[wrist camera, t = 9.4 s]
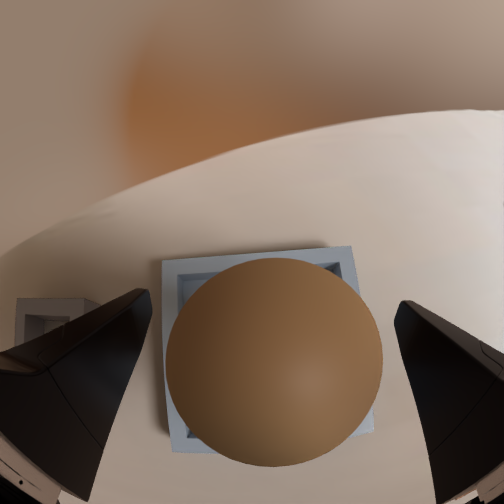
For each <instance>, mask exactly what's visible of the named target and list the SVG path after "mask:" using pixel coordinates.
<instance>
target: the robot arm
mask: <svg viewBox="0 0 504 504" xmlns="http://www.w3.org/2000/svg"><path fill="white" fill-rule="evenodd" d="M151 316H152V304H151V299H150V293H149V290H147V289H142V288H136V289H134V290H132V291H130V292H128V293H126V294H124V295H122V296H120V297H118V298H116V299H114V300H112V301H110V302H108V303H106V304H104V305H102V306H100V307H98V308H96V309H94V310H92V311H90V312H88V313H86V314H84V315H82V316H80V317H78V318H76V319H74V320H72V321H70V322H68V323H66V324H64V325H62V326H60V327H58V328H56V329H54V330H52V331H50V332H48V333H46V334H43V335H41V336H39V337H37V338H34V339H32V340H30V341H27V342H25V343H23V344H20V345H18V346H15V347H13V348H11V349H8V350H6V351H3V352H0V504H60V503H59V500H58V497H59V494H60V492H61V490H63V491H65V492H67V493H69V494H71V495H73V496H75V497H77V498H79V499H81V500H83V501H86V502H88V500H89V497H90V494H91V490H92V487H93V483H94V480H95V477H96V473H97V470H98V467H99V464H100V461H101V457H102V454H103V451H104V448H105V445H106V442H107V439H108V436H109V433H110V430H111V427H112V425H113V422H114V419H115V416H116V414H117V411H118V408H119V405H120V403H121V400H122V397H123V395H124V392H125V390H126V387H127V385H128V382H129V379H130V377H131V374H132V372H133V369H134V367H135V365H136V362H137V360H138V357H139V355H140V352H141V350H142V347H143V344H144V340H145V337H146V333H147V330H148V326H149V323H150V320H151ZM394 327H395V331H396V335H397V339H398V343H399V348H400V352H401V356H402V360H403V363H404V366H405V369H406V372H407V376H408V379H409V382H410V385H411V389H412V392H413V395H414V399H415V402H416V406H417V410H418V413H419V417H420V421H421V425H422V429H423V433H424V437H425V442H426V446H427V451H428V455H429V461H430V467H431V472H432V478H433V484H434V491H435V498H436V504H445V503H447V502H449V501H451V500H454V499H456V498H458V497H460V496H462V495H464V494H466V493H468V492H470V491H472V490H473V489H475V488H476V490H477V493H478V496H477V497H475V498H474V499H472V500H470V501H469V502H467V503H465V504H504V354H503V353H501V352H499V351H498V350H496V349H494V348H492V347H491V346H489V345H487V344H486V343H484V342H482V341H481V340H479V339H477V338H476V337H474V336H472V335H471V334H469V333H467V332H466V331H464V330H462V329H460V328H459V327H457V326H455V325H454V324H452V323H450V322H448V321H447V320H445V319H443V318H441V317H440V316H438V315H436V314H435V313H433V312H431V311H429V310H427V309H426V308H424V307H422V306H420V305H419V304H417V303H415V302H413V301H411V300H404V301H401V302H400V304H399V307H398V310H397V313H396V316H395V319H394Z"/></svg>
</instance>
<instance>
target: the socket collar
mask: <svg viewBox="0 0 504 504" xmlns="http://www.w3.org/2000/svg"><path fill="white" fill-rule="evenodd" d="M100 306H101V305H99V304H96V303H94V302H92V301H89V300H87V299H85V298H68V299H37V298H17V306H16V321H15V346H18V345H20V344H23V343H25V342H27V341H30V340H32V339H34V338H37V337H39V336H41V335H43V334H44V320H53V321H72V320H74V319H76V318H78V317H80V316H82V315H84V314H86V313H88V312H90V311H92V310H94V309H96V308H98V307H100Z"/></svg>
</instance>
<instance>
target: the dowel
mask: <svg viewBox="0 0 504 504" xmlns="http://www.w3.org/2000/svg"><path fill="white" fill-rule="evenodd" d="M382 366H383V354H382V344H381V339H380V335H379V331H378V328H377V326H376V323H375V320H374V318H373V316H372V314H371V312H370V310H369V308H368V307H367V306H366V304H365V303H364V301H363V300H362V298H361V297H360V296H359V295H358V294H357V293H356V292H355V290H354V289H353V288H352V287H351V286H349V285H348V284H347V283H346V282H345V281H343V280H342V279H341V278H340V277H338V276H336V275H335V274H333V273H332V272H330V271H328V270H326V269H324V268H322V267H320V266H318V265H315V264H312V263H309V262H305V261H301V260H296V259H291V258H262V259H256V260H251V261H247V262H244V263H240V264H237V265H234V266H232V267H230V268H228V269H226V270H224V271H222V272H220V273H218V274H217V275H215V276H214V277H212V278H210V279H209V280H208V281H207V282H205V283H204V284H203V285H202V286H201V287H199V288H198V289H197V290H196V292H195V293H194V294H193V295H192V296H191V297H190V298H189V299H188V301H187V302H186V303H185V305H184V306H183V307H182V309H181V311H180V312H179V314H178V316H177V318H176V320H175V322H174V324H173V327H172V330H171V332H170V335H169V340H168V344H167V349H166V359H165V367H166V379H167V384H168V389H169V392H170V395H171V398H172V401H173V404H174V406H175V408H176V410H177V412H178V414H179V415H180V417H181V418H182V420H183V421H184V423H185V424H186V426H187V427H188V428H189V429H190V430H191V431H192V433H193V434H194V435H195V436H196V437H197V438H198V439H200V440H201V441H202V442H203V443H204V444H206V445H207V446H208V447H210V448H211V449H213V450H214V451H216V452H218V453H219V454H221V455H224V456H226V457H228V458H230V459H232V460H236V461H239V462H242V463H245V464H250V465H256V466H267V467H278V466H289V465H294V464H299V463H303V462H306V461H309V460H312V459H315V458H317V457H319V456H321V455H323V454H325V453H327V452H329V451H331V450H332V449H334V448H335V447H337V446H338V445H339V444H341V443H342V442H343V441H344V440H346V439H347V438H348V437H349V436H350V435H351V434H352V433H353V432H354V431H355V430H356V429H357V428H358V426H359V425H360V424H361V423H362V421H363V420H364V418H365V417H366V415H367V414H368V412H369V411H370V409H371V407H372V405H373V402H374V400H375V398H376V395H377V392H378V389H379V386H380V381H381V376H382Z"/></svg>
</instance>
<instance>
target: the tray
mask: <svg viewBox="0 0 504 504" xmlns="http://www.w3.org/2000/svg"><path fill="white" fill-rule="evenodd" d="M262 258H291V259H296V260H301V261H305V262H309V263H312V264H315V265H318V266H320V267H322V268H324V269H326V270H328V271H330V272H332V273H333V274H335V275H336V276H338V277H340V278H341V279H342V280H343V281H345V282H346V283H347V284H348V285H349V286H351V287H352V288H353V289H354V290H355V292H356V293H357V294H358V295H359V296H360V290H359V284H358V279H357V273H356V268H355V263H354V258H353V253H352V248H351V246H340V247H327V248H315V249H302V250H289V251H276V252H263V253H250V254H237V255H225V256H212V257H199V258H186V259H172V260H162V344H163V364H164V380H165V392H166V404H167V414H168V423H169V431H170V439H171V446H172V452H181V453H218V452H216V451H214V450H213V449H211V448H210V447H208V446H207V445H206V444H204V443H203V442H202V441H201V440H200V439H198V438H197V437H196V436H195V435H194V434H193V433H192V431H191V430H190V429H189V428H188V427H187V426H186V424H185V423H184V421H183V420H182V418H181V417H180V415H179V414H178V412H177V410H176V408H175V406H174V404H173V401H172V398H171V395H170V392H169V389H168V384H167V379H166V367H165V359H166V349H167V344H168V340H169V335H170V332H171V330H172V327H173V324H174V322H175V320H176V318H177V316H178V314H179V312H180V311H181V309H182V307H183V306H184V305H185V303H186V302H187V301H188V299H189V298H190V297H191V296H192V295H193V294H194V293H195V292H196V290H197V289H198V288H199V287H201V286H202V285H203V284H204V283H205V282H207V281H208V280H209V279H210V278H212V277H214V276H215V275H217V274H218V273H220V272H222V271H224V270H226V269H228V268H230V267H232V266H234V265H237V264H240V263H244V262H247V261H251V260H256V259H262ZM360 297H361V296H360ZM373 431H374V420H373V405H372V407H371V409H370V411H369V412H368V414H367V415H366V417H365V418H364V420H363V421H362V423H361V424H360V425H359V426H358V428H357V429H356V430H355V431H354V432H353V433H352V434H351V435H350V436H349V437H348V438H350V437H354V436H358V435H362V434H366V433H370V432H373Z"/></svg>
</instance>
